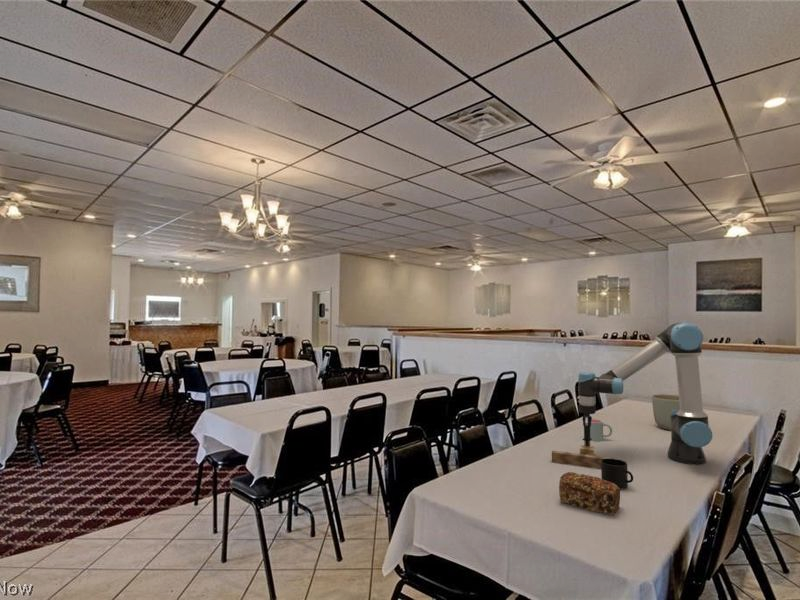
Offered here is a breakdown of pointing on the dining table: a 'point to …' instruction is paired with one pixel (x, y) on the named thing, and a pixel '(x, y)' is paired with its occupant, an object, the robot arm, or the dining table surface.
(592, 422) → the mug
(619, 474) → the mug
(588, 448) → the block
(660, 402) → the planter
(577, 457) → the board
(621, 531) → the dining table surface
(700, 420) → the robot arm
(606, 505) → the bread
